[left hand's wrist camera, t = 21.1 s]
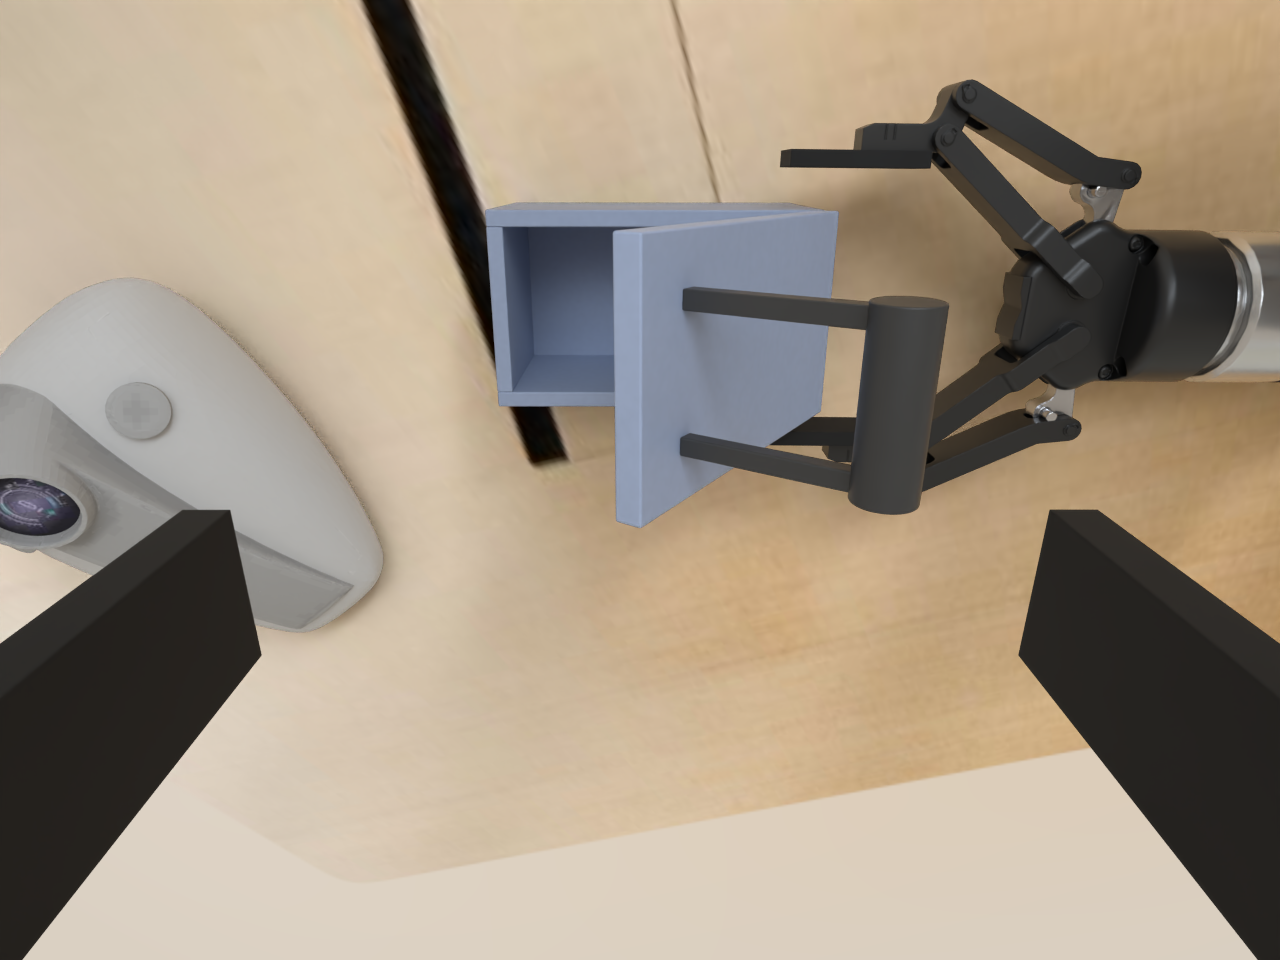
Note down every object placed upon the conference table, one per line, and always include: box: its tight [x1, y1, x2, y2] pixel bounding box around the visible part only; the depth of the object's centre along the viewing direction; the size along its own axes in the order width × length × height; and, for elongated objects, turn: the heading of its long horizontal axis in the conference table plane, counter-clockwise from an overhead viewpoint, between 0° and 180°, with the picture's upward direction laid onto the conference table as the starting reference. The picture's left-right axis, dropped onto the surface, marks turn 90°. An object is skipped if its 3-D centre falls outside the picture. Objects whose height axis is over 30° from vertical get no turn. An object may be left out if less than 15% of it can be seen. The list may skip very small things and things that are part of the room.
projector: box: [0, 278, 383, 632], centre depth 43 cm, size 22×23×15 cm
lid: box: [613, 210, 949, 528], centre depth 28 cm, size 16×9×9 cm
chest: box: [485, 203, 825, 406], centre depth 42 cm, size 16×9×9 cm, turn 90°
